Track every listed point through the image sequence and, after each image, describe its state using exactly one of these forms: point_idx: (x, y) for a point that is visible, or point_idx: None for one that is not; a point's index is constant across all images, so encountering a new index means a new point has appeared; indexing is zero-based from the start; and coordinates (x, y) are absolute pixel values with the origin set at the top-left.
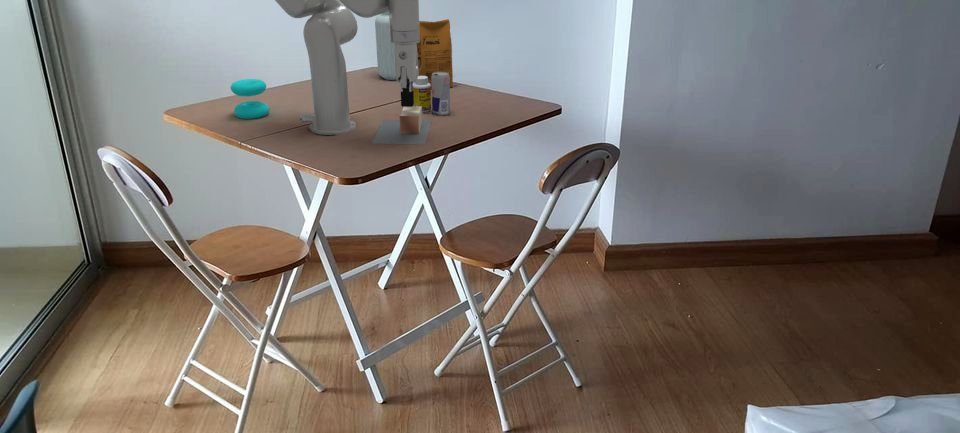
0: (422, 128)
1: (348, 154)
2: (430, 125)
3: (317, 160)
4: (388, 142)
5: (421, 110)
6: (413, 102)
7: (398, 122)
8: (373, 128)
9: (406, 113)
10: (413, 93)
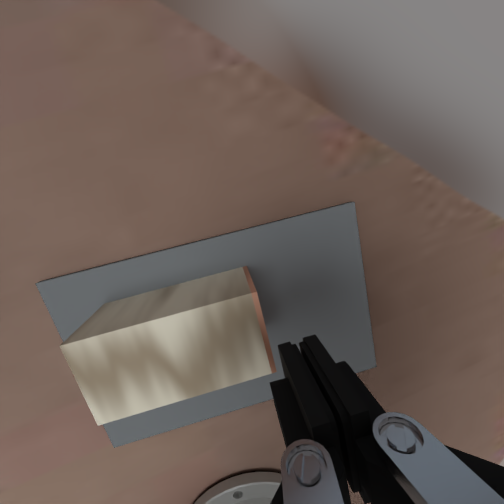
0: (173, 278)
1: (453, 383)
2: (120, 262)
3: (497, 425)
4: (357, 326)
5: (94, 329)
6: (293, 351)
7: None
8: (211, 432)
9: (224, 362)
10: (303, 403)
